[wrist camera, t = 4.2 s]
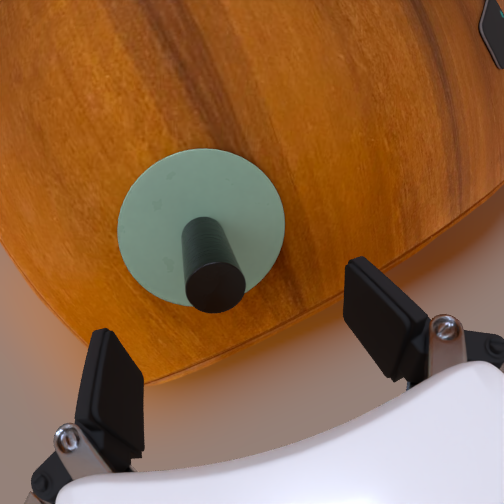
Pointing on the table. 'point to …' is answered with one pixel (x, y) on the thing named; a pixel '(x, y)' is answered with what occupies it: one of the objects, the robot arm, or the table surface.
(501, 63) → the smartphone
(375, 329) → the robot arm
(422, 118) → the table surface
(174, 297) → the pot lid
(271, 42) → the table surface
